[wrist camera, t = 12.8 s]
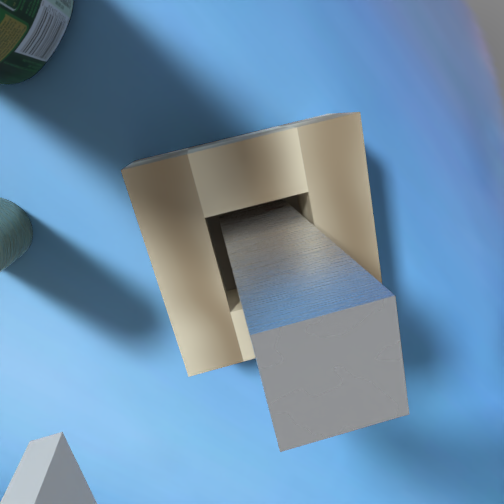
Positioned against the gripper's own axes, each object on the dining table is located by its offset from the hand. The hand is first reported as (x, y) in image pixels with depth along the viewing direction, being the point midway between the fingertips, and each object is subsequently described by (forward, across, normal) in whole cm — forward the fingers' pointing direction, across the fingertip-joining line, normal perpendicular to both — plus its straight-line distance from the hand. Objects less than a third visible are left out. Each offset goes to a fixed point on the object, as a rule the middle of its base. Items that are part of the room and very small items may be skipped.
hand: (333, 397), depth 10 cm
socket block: (+17, +1, 0) cm, 17 cm away
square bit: (+15, +1, 0) cm, 15 cm away
